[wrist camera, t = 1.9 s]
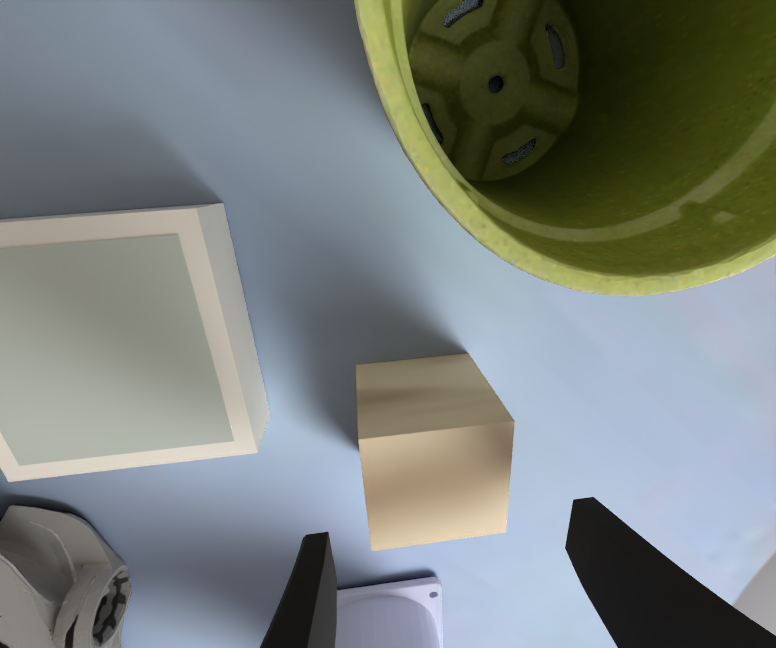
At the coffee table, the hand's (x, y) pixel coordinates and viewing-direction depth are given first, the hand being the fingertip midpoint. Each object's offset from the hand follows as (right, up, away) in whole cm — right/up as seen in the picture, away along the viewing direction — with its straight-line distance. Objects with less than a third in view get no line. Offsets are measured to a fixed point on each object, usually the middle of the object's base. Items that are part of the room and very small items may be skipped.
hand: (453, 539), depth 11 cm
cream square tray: (-12, +6, +4) cm, 14 cm away
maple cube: (-1, +3, +6) cm, 7 cm away
